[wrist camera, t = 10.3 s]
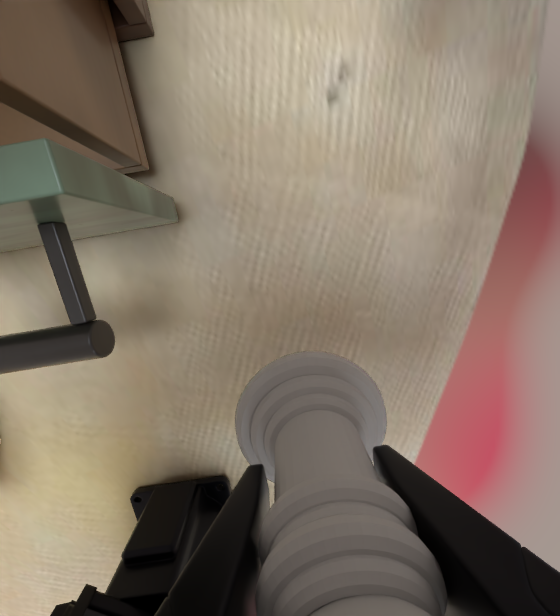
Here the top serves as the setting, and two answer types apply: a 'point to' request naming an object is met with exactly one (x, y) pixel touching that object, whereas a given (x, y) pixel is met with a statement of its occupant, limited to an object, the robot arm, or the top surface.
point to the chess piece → (330, 497)
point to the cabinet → (130, 19)
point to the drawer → (67, 161)
